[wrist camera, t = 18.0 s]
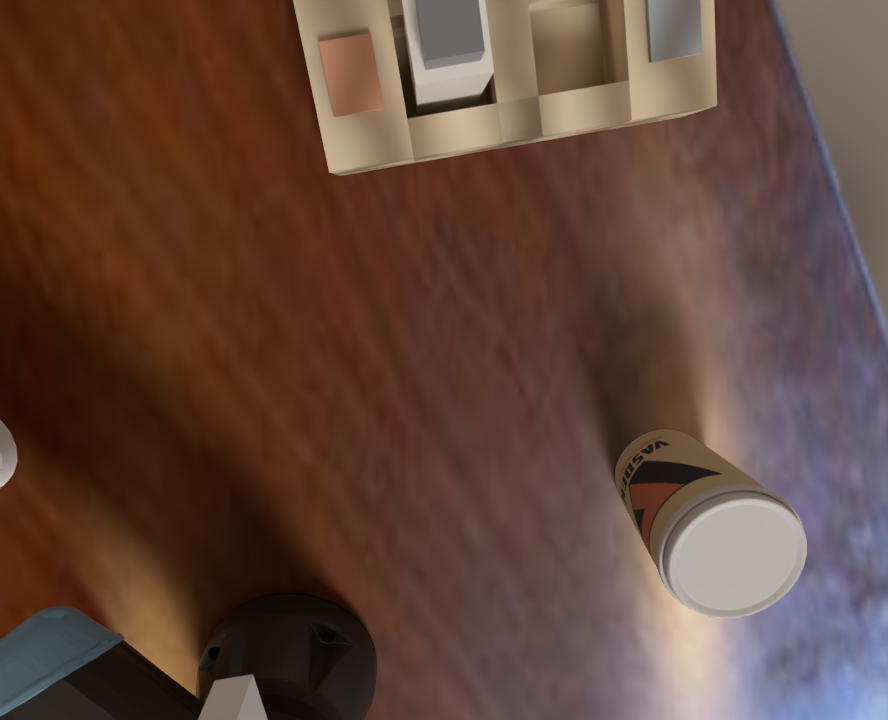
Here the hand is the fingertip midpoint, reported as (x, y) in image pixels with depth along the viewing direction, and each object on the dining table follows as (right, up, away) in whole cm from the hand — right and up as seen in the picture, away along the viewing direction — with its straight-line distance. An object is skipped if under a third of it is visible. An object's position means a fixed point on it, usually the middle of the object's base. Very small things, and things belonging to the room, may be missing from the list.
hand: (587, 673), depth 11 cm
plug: (-3, +25, +26) cm, 36 cm away
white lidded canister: (+15, -3, +36) cm, 39 cm away
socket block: (+1, +26, +27) cm, 37 cm away
